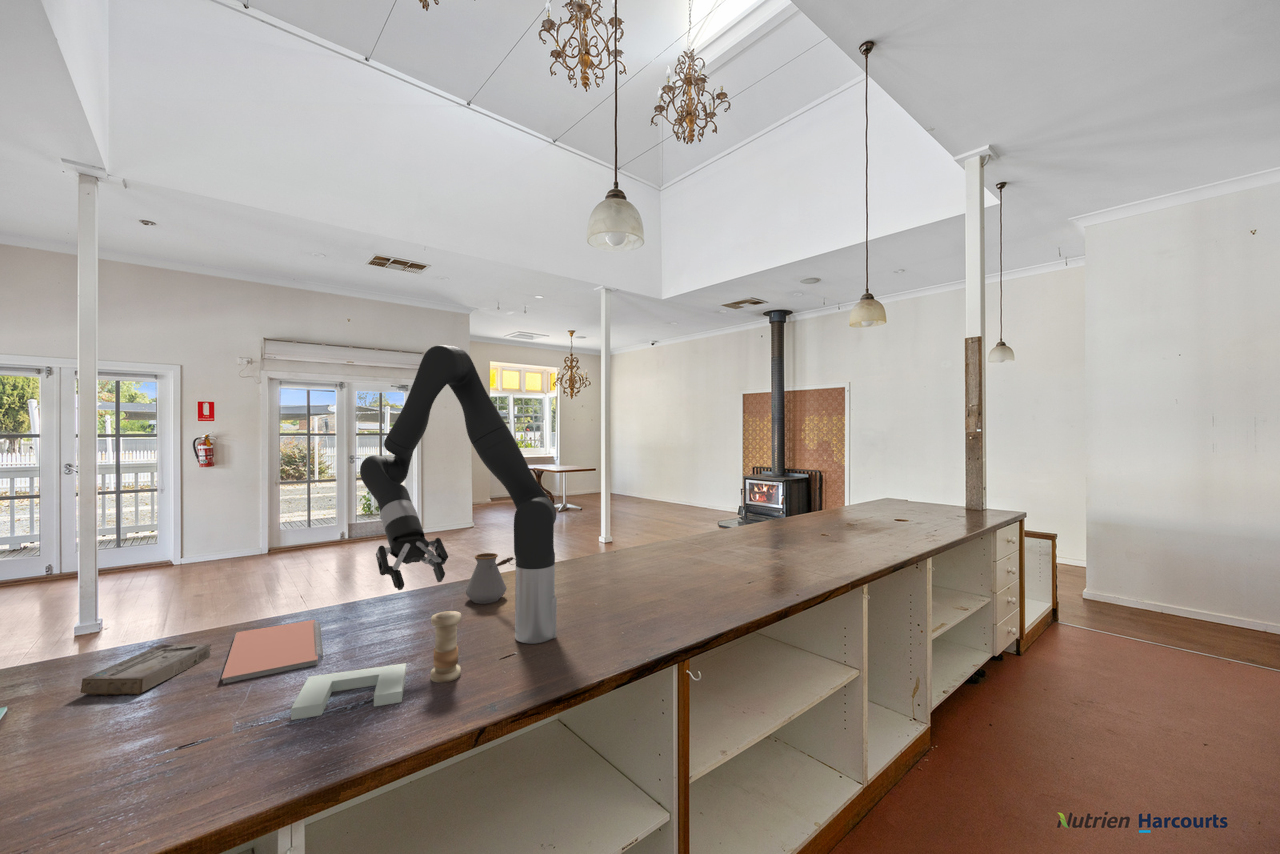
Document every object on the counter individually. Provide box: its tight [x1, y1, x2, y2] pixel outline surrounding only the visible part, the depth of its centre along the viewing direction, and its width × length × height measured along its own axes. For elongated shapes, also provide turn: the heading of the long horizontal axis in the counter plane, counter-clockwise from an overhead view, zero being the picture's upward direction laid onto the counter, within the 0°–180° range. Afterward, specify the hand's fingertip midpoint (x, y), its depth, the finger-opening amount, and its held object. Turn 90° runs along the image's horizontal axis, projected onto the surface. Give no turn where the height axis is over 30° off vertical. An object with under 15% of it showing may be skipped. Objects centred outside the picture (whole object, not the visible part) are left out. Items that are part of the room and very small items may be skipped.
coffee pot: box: [465, 552, 516, 605], centre depth 147 cm, size 21×12×15 cm, turn 43°
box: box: [80, 643, 212, 697], centre depth 103 cm, size 11×17×3 cm, turn 4°
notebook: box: [220, 619, 324, 685], centre depth 115 cm, size 27×17×2 cm, turn 33°
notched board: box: [290, 662, 407, 721], centre depth 96 cm, size 17×12×2 cm
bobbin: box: [430, 610, 462, 684], centre depth 103 cm, size 6×6×12 cm
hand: (421, 584), depth 112 cm, fingers open, 8 cm apart
